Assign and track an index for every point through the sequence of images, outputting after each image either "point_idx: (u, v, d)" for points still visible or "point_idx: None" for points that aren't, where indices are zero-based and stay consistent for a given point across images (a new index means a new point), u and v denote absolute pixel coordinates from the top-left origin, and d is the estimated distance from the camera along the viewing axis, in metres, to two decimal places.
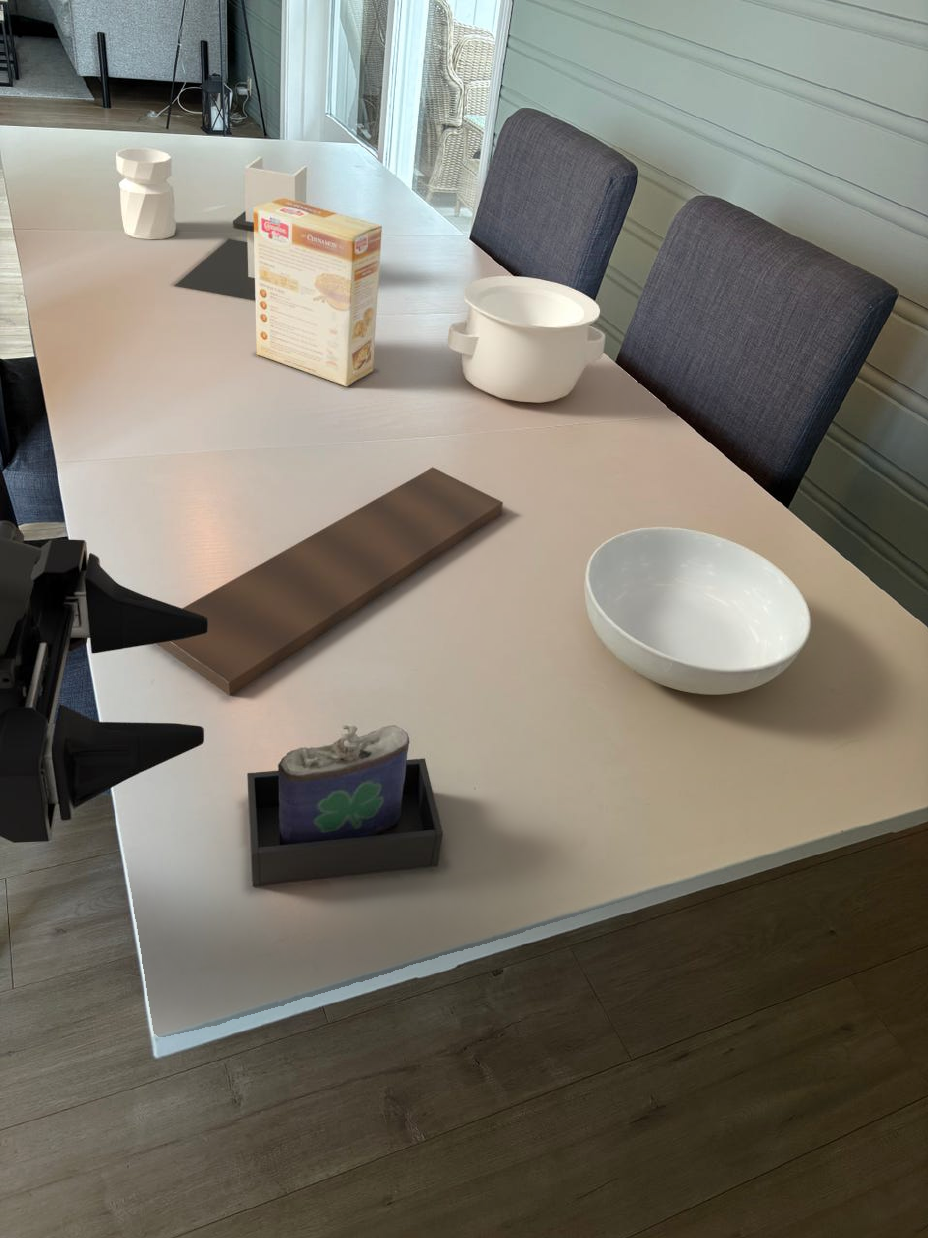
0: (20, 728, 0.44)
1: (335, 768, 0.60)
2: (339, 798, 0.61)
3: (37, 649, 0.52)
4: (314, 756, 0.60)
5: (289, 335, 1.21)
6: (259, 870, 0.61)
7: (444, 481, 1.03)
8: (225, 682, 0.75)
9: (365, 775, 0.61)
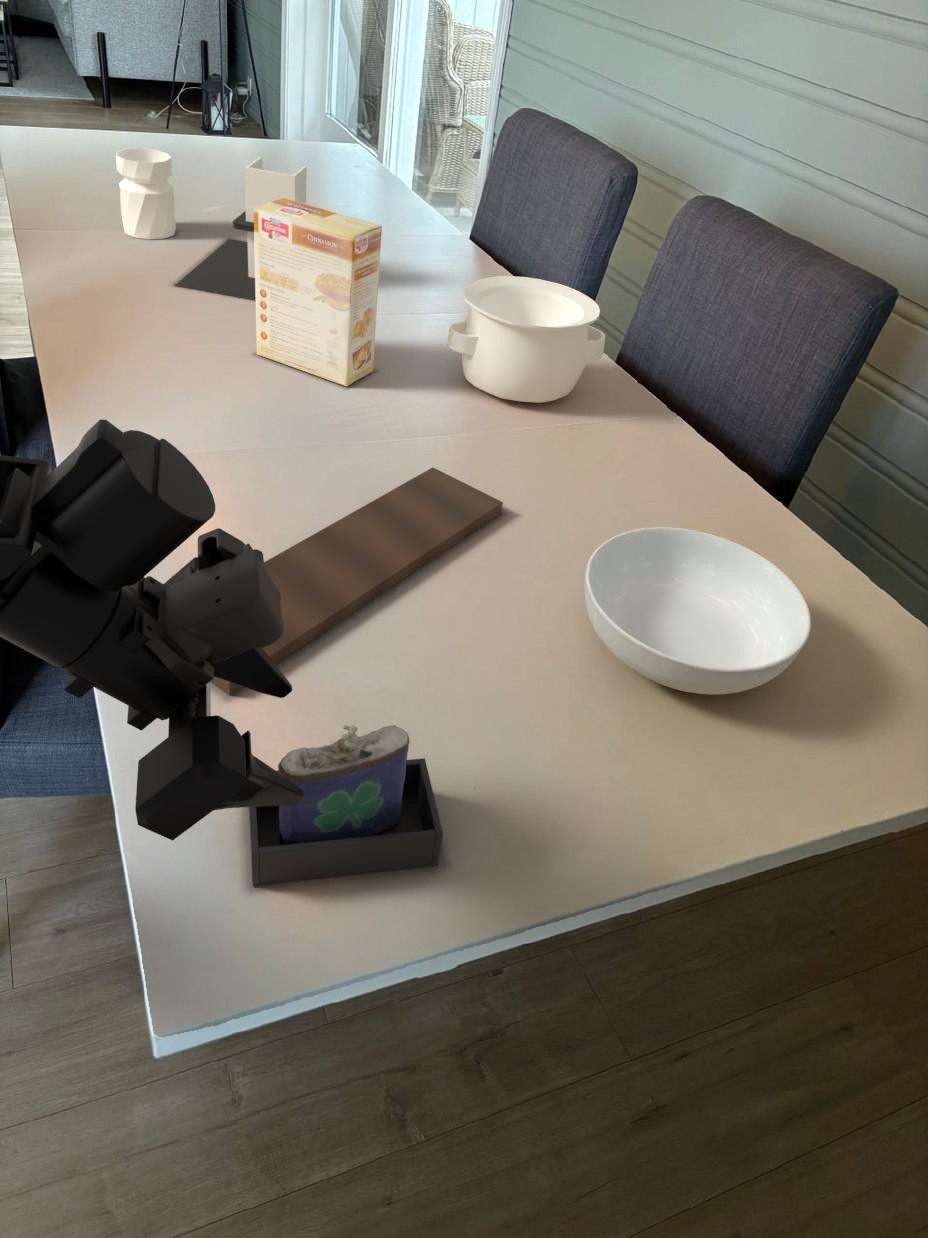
0: (229, 740, 0.48)
1: (335, 769, 0.60)
2: (339, 798, 0.61)
3: None
4: (314, 756, 0.60)
5: (289, 335, 1.21)
6: (259, 870, 0.61)
7: (444, 481, 1.03)
8: (225, 682, 0.75)
9: (365, 775, 0.61)
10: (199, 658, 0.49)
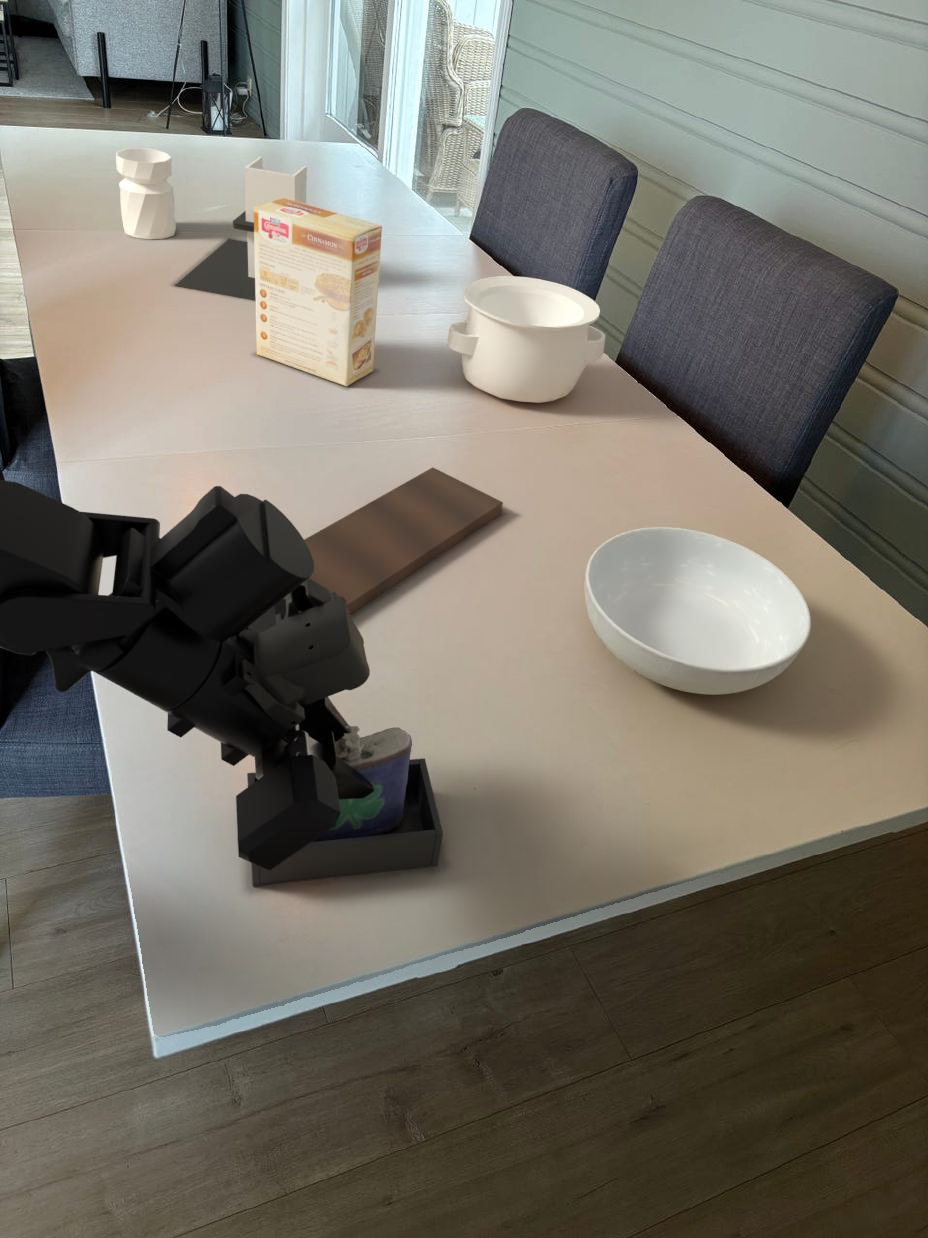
0: (323, 778, 0.52)
1: None
2: None
3: None
4: None
5: (289, 335, 1.21)
6: (259, 870, 0.61)
7: (444, 481, 1.03)
8: None
9: (365, 776, 0.61)
10: (293, 701, 0.53)
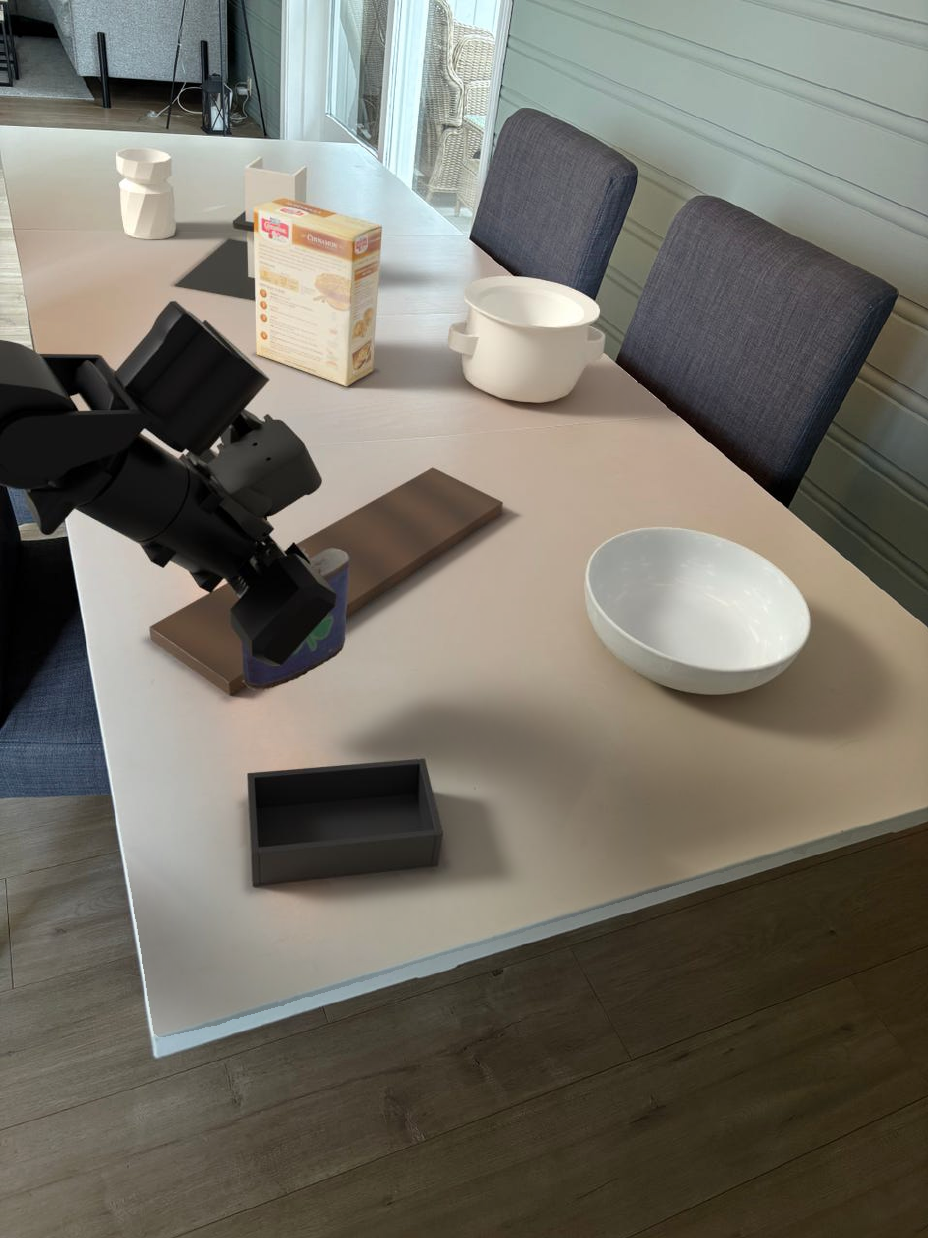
0: (311, 570, 0.57)
1: None
2: None
3: None
4: None
5: (289, 335, 1.21)
6: (259, 870, 0.61)
7: (444, 481, 1.03)
8: (225, 682, 0.75)
9: None
10: (263, 511, 0.57)
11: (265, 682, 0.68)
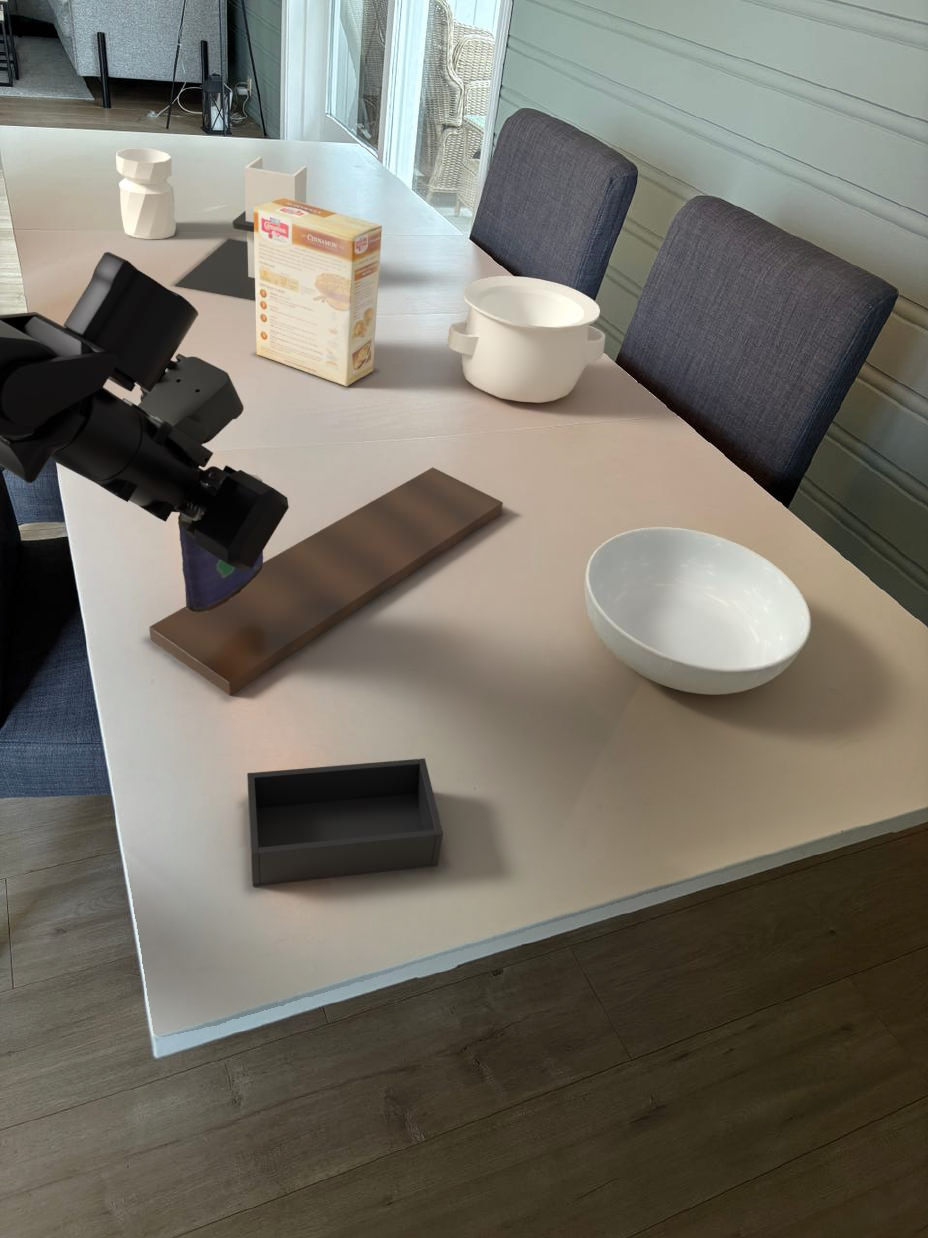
0: None
1: None
2: None
3: None
4: None
5: (289, 335, 1.21)
6: (259, 870, 0.61)
7: (444, 481, 1.03)
8: (225, 682, 0.75)
9: None
10: (204, 437, 0.64)
11: (209, 604, 0.75)
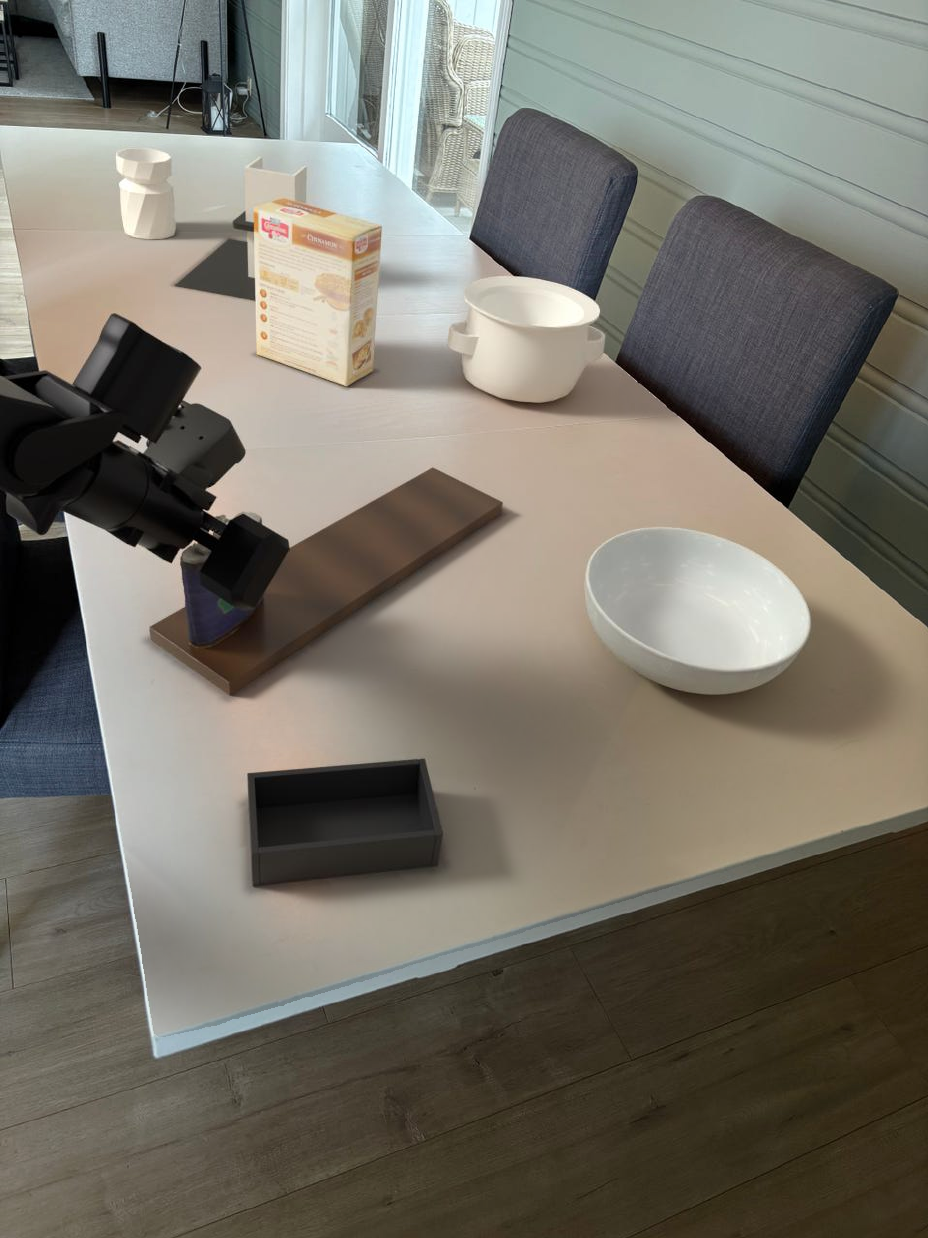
0: None
1: None
2: None
3: None
4: (203, 548, 0.74)
5: (289, 335, 1.21)
6: (259, 870, 0.61)
7: (444, 481, 1.03)
8: (225, 682, 0.75)
9: None
10: (208, 482, 0.67)
11: (211, 639, 0.78)
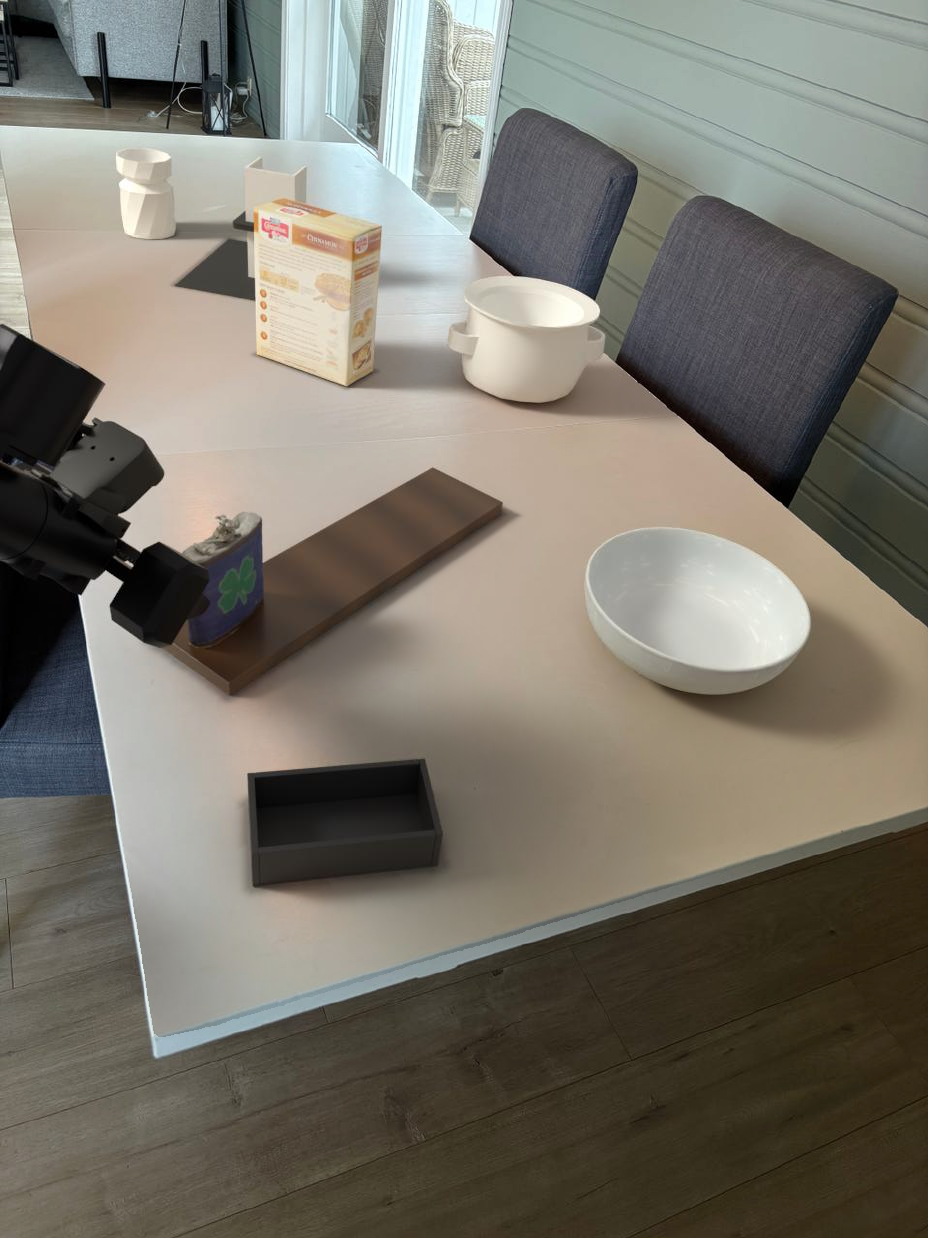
0: (179, 553, 0.62)
1: (226, 549, 0.74)
2: (231, 576, 0.76)
3: None
4: (203, 548, 0.74)
5: (289, 335, 1.21)
6: (259, 870, 0.61)
7: (444, 481, 1.03)
8: (225, 682, 0.75)
9: (244, 550, 0.76)
10: (119, 508, 0.61)
11: (211, 639, 0.78)
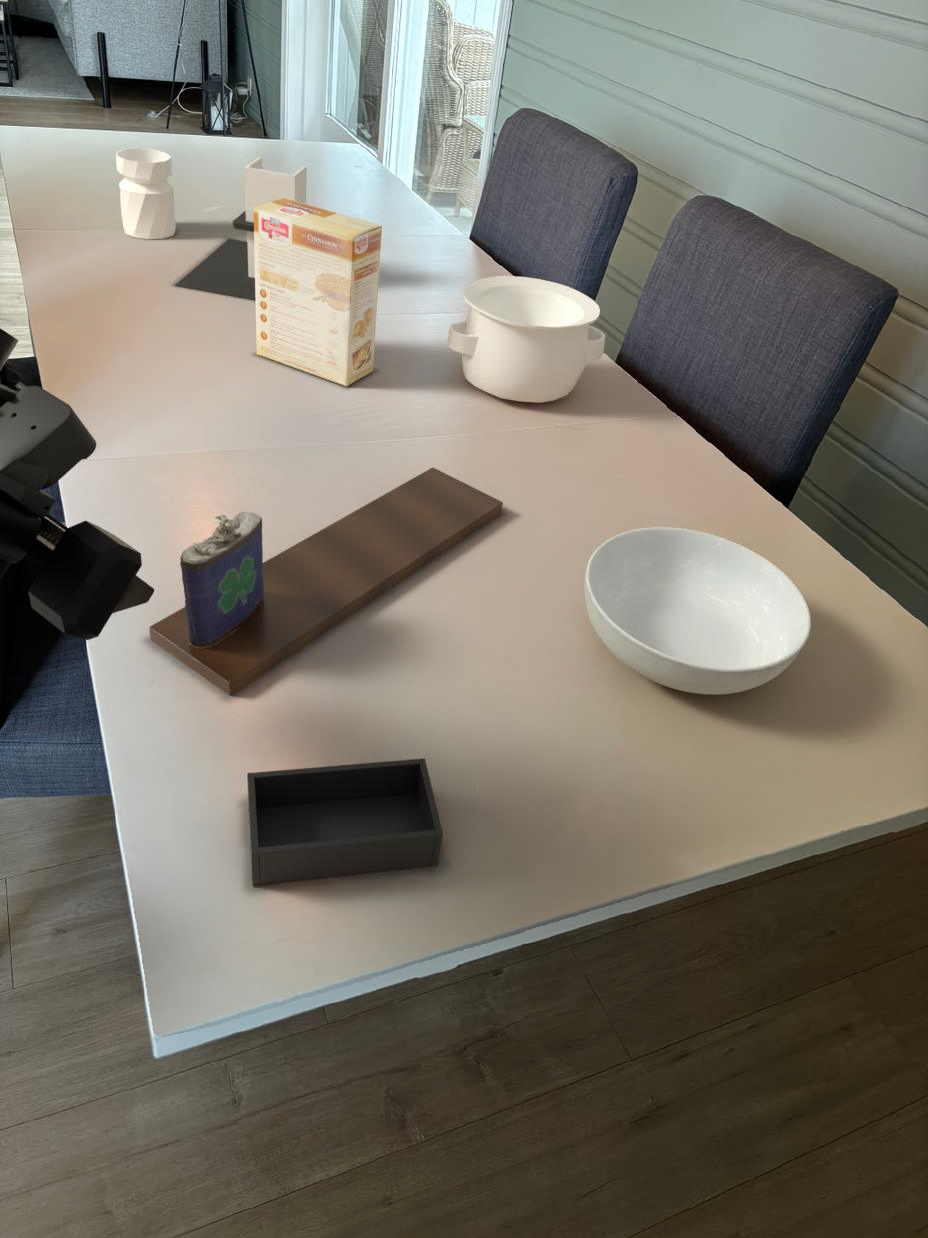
0: (108, 533, 0.55)
1: (226, 549, 0.74)
2: (231, 576, 0.76)
3: None
4: (203, 548, 0.74)
5: (289, 335, 1.21)
6: (259, 870, 0.61)
7: (444, 481, 1.03)
8: (225, 682, 0.75)
9: (244, 550, 0.76)
10: (41, 482, 0.54)
11: (211, 639, 0.78)
